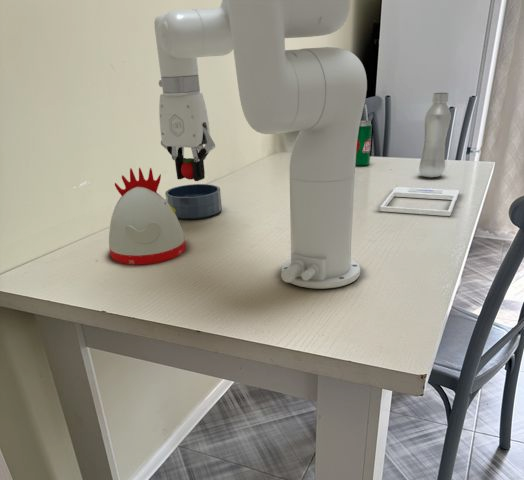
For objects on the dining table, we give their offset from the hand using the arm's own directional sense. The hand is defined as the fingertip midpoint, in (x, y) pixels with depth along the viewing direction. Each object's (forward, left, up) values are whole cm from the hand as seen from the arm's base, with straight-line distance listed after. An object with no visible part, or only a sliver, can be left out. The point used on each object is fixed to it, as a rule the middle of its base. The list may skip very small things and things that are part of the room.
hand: (191, 178), depth 113 cm
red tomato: (0, 0, 0) cm, 0 cm away
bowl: (0, 0, -8) cm, 8 cm away
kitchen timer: (-24, -7, -8) cm, 26 cm away
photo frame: (+25, -45, -8) cm, 52 cm away
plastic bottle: (+51, -40, -8) cm, 65 cm away
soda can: (+60, -17, -8) cm, 63 cm away
